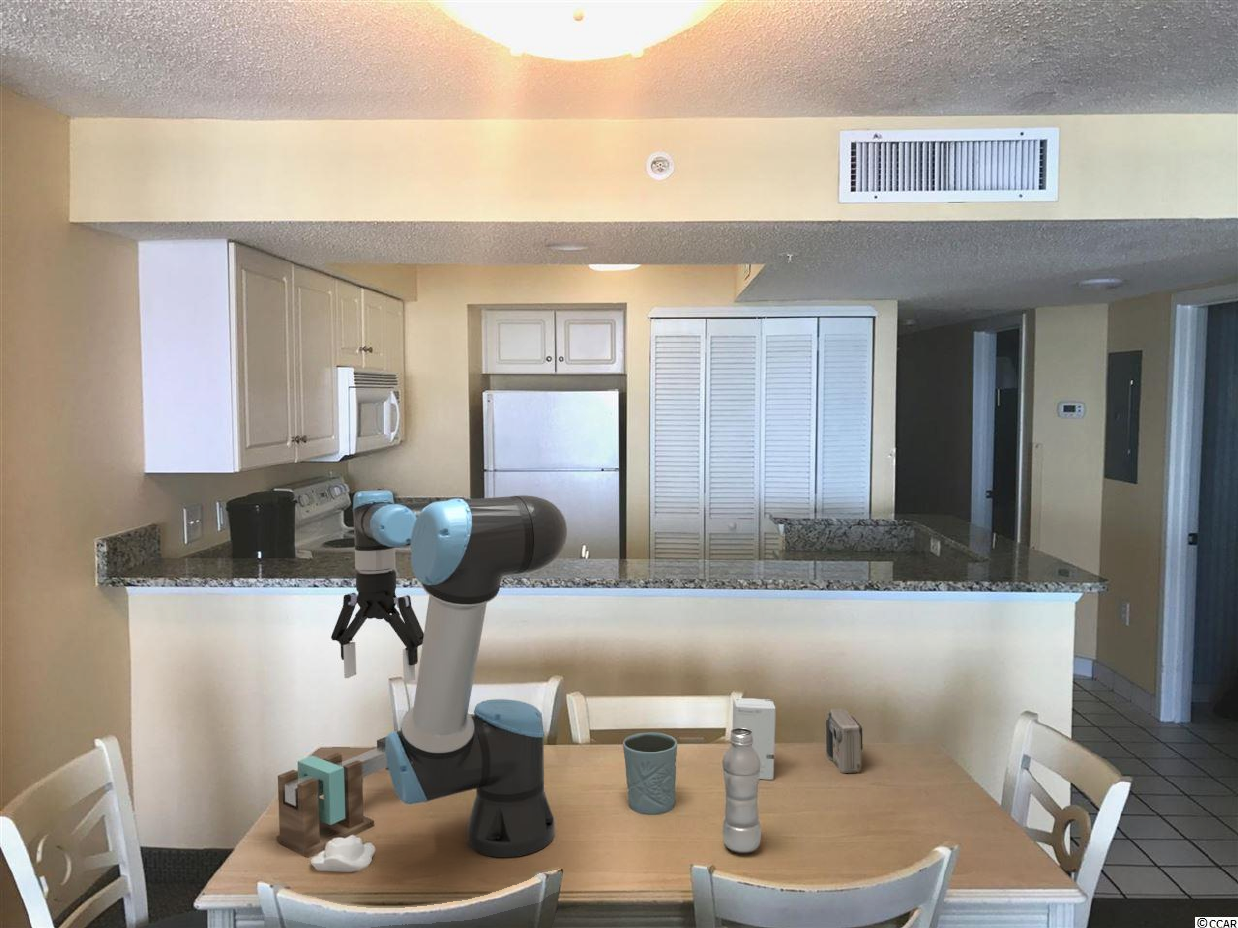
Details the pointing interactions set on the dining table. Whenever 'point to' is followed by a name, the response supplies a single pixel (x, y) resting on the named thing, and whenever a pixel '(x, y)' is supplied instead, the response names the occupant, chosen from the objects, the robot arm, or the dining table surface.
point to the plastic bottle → (741, 793)
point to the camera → (843, 741)
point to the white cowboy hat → (344, 855)
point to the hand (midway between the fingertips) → (379, 678)
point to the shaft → (370, 765)
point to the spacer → (326, 787)
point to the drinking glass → (650, 772)
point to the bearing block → (303, 820)
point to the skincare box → (758, 729)
